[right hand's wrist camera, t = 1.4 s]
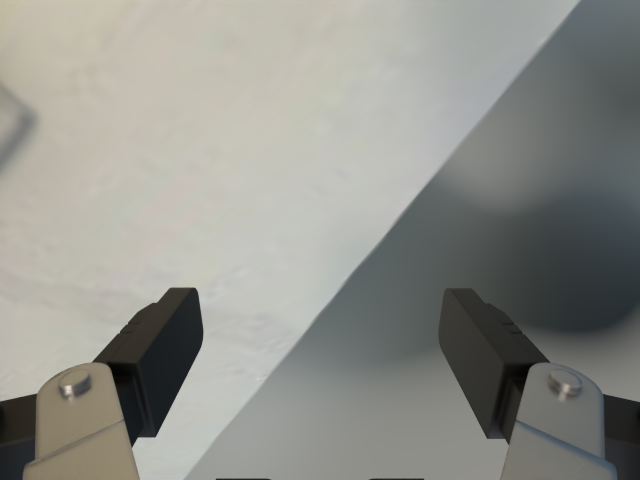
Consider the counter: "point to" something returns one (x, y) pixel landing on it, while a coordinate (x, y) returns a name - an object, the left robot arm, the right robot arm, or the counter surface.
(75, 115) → the counter surface
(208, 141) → the counter surface
